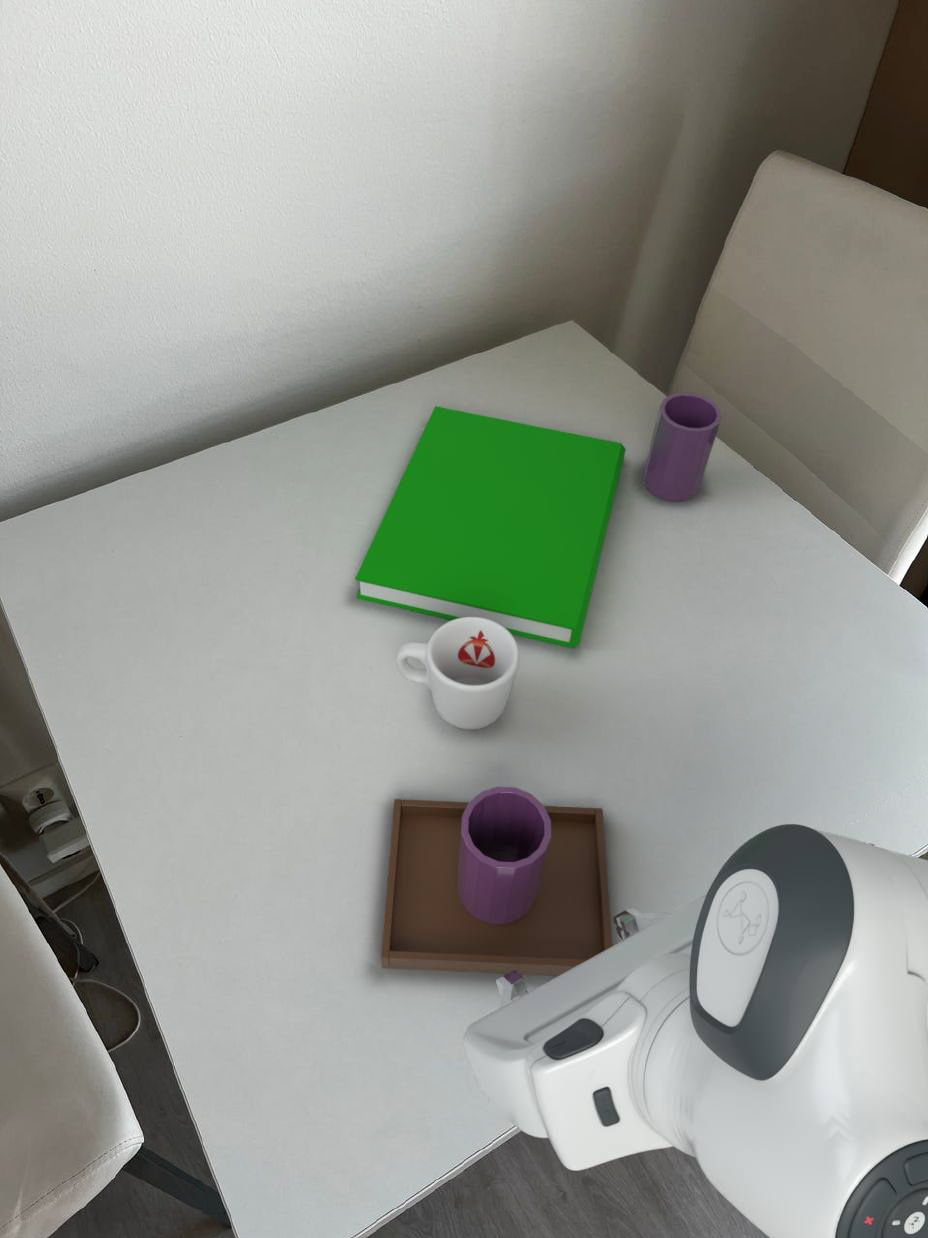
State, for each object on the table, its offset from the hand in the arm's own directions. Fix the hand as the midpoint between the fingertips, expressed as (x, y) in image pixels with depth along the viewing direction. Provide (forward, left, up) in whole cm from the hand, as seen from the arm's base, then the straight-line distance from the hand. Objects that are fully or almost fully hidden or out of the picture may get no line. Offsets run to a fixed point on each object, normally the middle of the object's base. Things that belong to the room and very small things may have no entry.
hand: (567, 952), depth 65 cm
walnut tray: (+4, -8, -7) cm, 11 cm away
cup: (+8, -26, -7) cm, 28 cm away
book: (+4, -49, -7) cm, 49 cm away
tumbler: (-15, -57, -7) cm, 59 cm away
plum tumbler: (+4, -8, -7) cm, 11 cm away
